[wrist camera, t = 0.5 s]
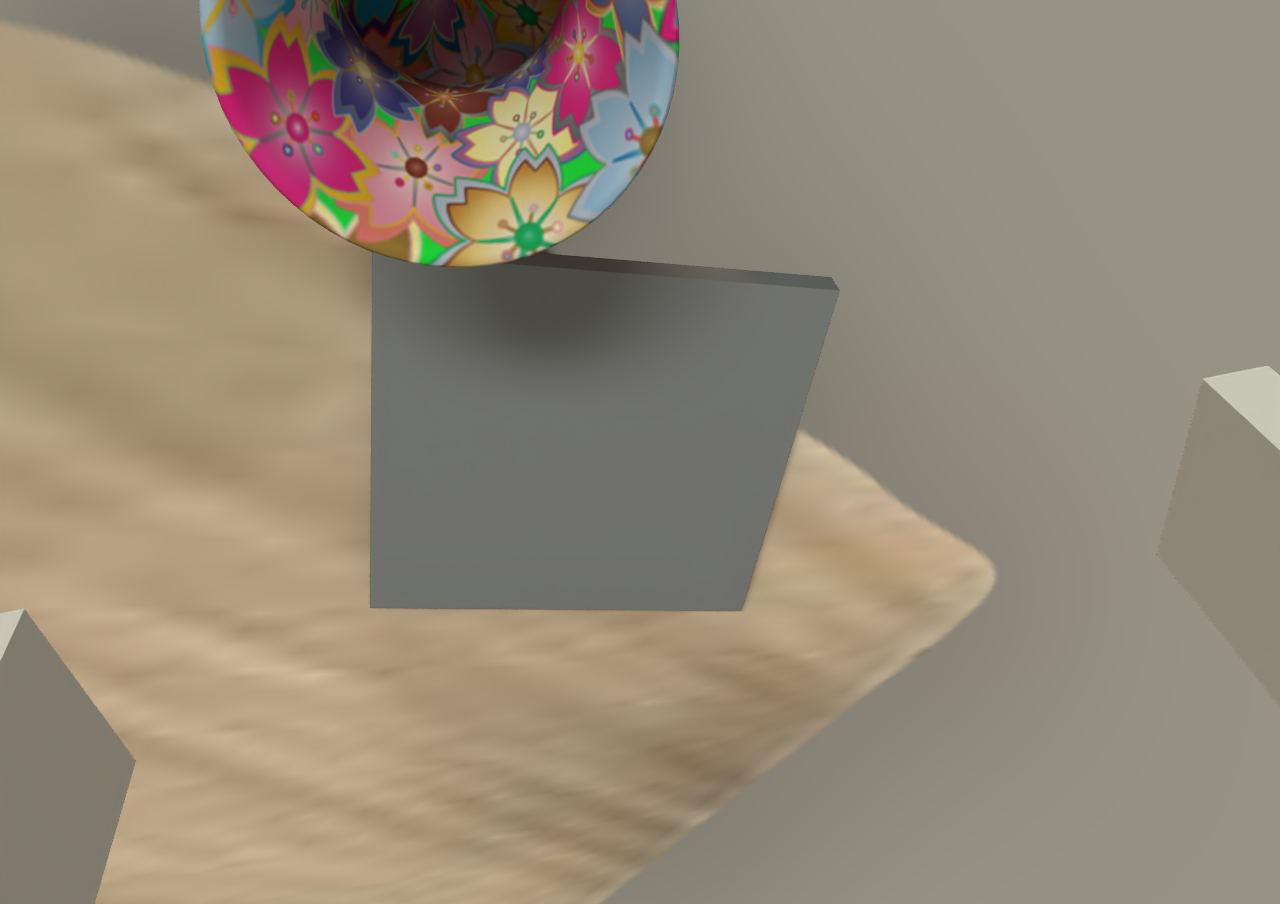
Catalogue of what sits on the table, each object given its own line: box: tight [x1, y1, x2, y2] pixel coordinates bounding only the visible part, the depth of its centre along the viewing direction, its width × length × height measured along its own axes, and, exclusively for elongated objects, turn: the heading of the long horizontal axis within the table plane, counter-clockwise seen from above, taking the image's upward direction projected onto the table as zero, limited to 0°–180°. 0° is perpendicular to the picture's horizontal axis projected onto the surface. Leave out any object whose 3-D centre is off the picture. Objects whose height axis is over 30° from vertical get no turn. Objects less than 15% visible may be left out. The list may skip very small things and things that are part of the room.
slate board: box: [370, 252, 840, 611], centre depth 39 cm, size 16×16×1 cm
